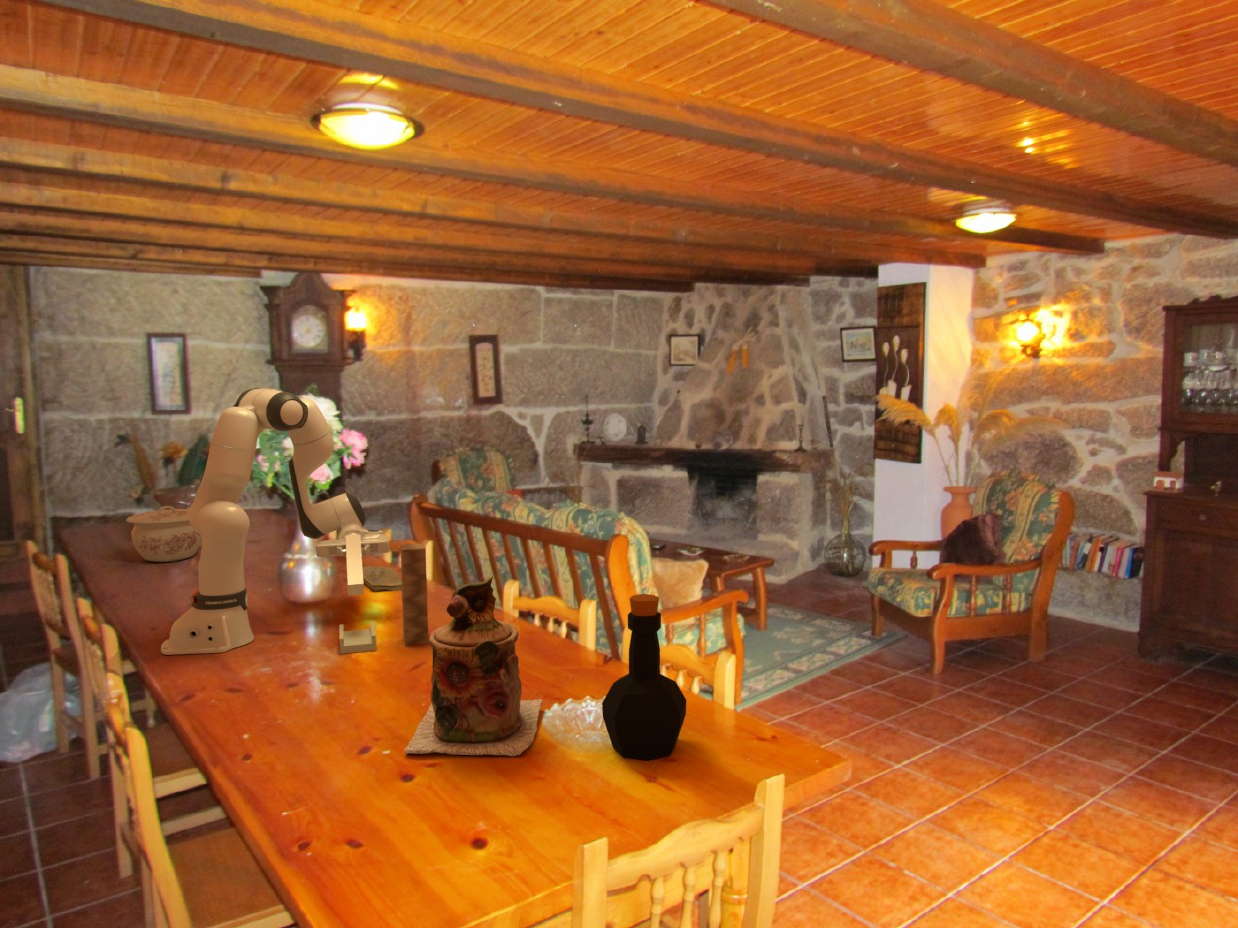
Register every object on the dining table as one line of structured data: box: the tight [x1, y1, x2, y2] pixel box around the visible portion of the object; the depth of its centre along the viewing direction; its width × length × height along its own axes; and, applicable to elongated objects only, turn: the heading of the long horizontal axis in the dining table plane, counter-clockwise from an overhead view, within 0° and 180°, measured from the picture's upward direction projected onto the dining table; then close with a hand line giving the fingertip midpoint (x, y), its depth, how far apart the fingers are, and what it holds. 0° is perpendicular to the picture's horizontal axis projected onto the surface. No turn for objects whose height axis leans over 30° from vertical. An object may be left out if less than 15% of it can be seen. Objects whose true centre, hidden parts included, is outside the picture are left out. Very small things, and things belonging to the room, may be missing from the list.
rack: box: [339, 621, 377, 655], centre depth 231 cm, size 9×13×4 cm
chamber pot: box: [125, 505, 202, 564], centre depth 333 cm, size 28×28×21 cm
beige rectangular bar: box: [345, 535, 365, 597], centre depth 239 cm, size 4×20×4 cm
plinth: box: [400, 543, 429, 647], centre depth 232 cm, size 6×7×26 cm
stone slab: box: [362, 565, 402, 593], centre depth 298 cm, size 12×4×30 cm
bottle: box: [601, 593, 687, 762], centre depth 167 cm, size 16×16×30 cm
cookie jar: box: [403, 576, 544, 757], centre depth 174 cm, size 25×25×32 cm
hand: (353, 552), depth 242 cm, fingers closed on beige rectangular bar, 4 cm apart
